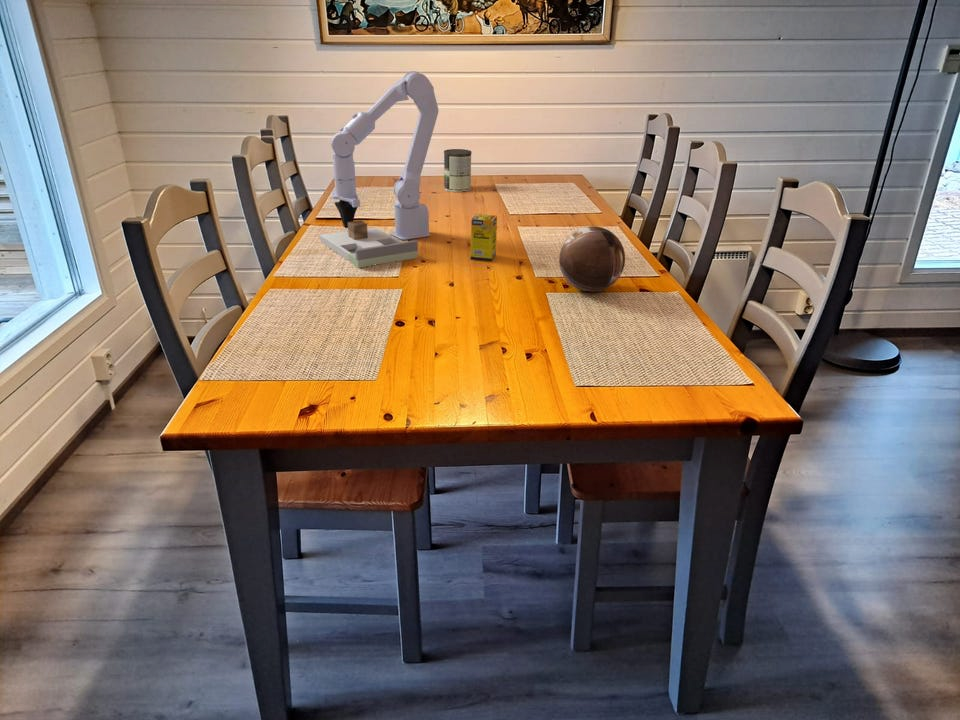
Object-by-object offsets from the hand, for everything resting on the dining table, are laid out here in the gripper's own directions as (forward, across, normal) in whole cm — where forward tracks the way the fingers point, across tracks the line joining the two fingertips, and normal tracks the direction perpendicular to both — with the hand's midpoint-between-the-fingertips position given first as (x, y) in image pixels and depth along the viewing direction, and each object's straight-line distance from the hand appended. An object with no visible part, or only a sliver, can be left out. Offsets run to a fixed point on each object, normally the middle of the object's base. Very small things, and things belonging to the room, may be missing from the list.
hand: (348, 227), depth 187 cm
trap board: (+3, +13, 0) cm, 13 cm away
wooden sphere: (+3, +67, +32) cm, 74 cm away
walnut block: (+1, +7, 0) cm, 7 cm away
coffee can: (+3, -41, +62) cm, 75 cm away
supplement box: (+3, +34, +24) cm, 42 cm away
